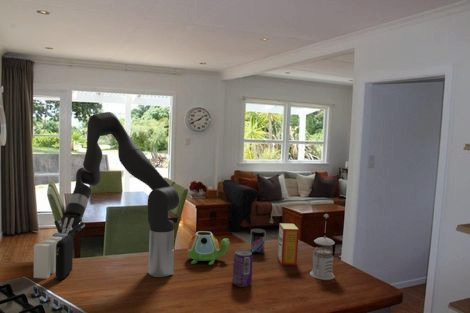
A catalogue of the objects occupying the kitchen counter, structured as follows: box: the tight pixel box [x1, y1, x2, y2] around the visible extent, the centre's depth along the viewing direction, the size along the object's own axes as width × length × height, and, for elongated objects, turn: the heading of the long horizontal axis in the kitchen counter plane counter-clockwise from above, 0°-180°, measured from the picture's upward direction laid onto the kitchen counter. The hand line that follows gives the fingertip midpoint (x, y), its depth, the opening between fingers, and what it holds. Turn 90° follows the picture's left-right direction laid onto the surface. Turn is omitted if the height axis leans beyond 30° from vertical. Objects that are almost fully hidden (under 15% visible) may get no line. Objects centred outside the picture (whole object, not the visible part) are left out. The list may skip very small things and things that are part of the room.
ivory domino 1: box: [33, 243, 51, 280], centre depth 136 cm, size 2×5×12 cm, turn 89°
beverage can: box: [231, 249, 254, 288], centre depth 139 cm, size 7×7×12 cm
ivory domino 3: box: [40, 239, 57, 275], centre depth 141 cm, size 2×5×12 cm, turn 89°
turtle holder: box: [187, 230, 230, 265], centre depth 162 cm, size 12×18×12 cm
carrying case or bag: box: [55, 235, 74, 281], centre depth 137 cm, size 11×3×15 cm, turn 1°
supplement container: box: [249, 228, 266, 255], centre depth 175 cm, size 7×7×10 cm
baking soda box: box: [277, 222, 300, 266], centre depth 165 cm, size 10×6×16 cm
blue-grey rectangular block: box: [52, 232, 68, 238], centre depth 150 cm, size 2×5×12 cm, turn 89°
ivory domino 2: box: [46, 236, 62, 242], centre depth 145 cm, size 2×5×12 cm, turn 89°
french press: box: [309, 213, 336, 281], centre depth 150 cm, size 10×12×25 cm
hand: (62, 243), depth 151 cm, fingers closed
